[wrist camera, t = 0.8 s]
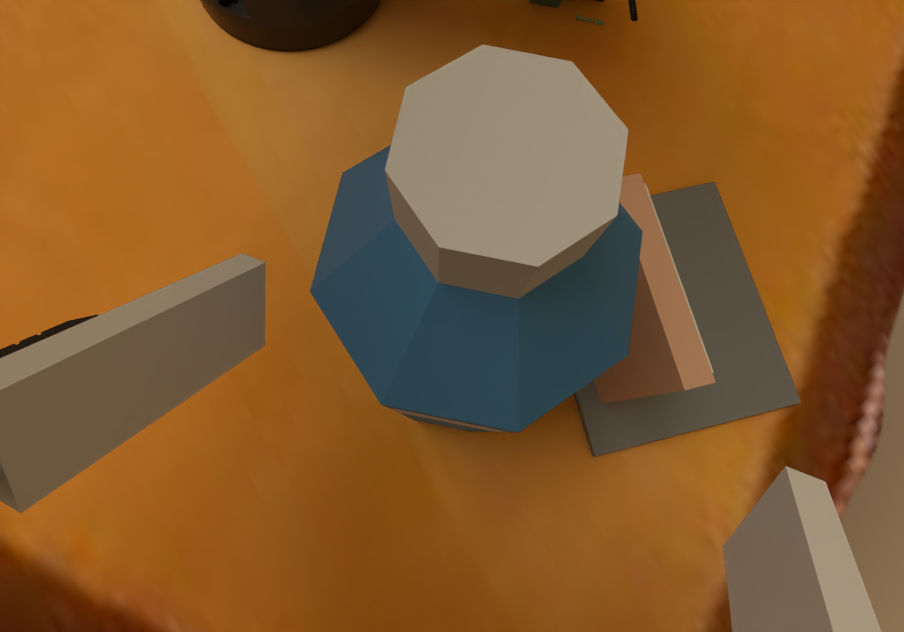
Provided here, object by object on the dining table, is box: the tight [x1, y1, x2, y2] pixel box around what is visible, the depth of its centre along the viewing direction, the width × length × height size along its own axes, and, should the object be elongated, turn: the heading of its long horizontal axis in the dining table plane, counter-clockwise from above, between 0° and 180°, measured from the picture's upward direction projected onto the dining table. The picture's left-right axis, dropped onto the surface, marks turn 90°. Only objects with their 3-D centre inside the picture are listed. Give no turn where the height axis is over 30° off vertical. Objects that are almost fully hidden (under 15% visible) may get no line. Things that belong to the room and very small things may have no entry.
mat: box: [574, 182, 801, 457], centre depth 33 cm, size 16×14×1 cm
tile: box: [594, 173, 716, 404], centre depth 27 cm, size 10×2×11 cm, turn 14°
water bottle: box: [310, 44, 643, 432], centre depth 20 cm, size 9×9×25 cm
